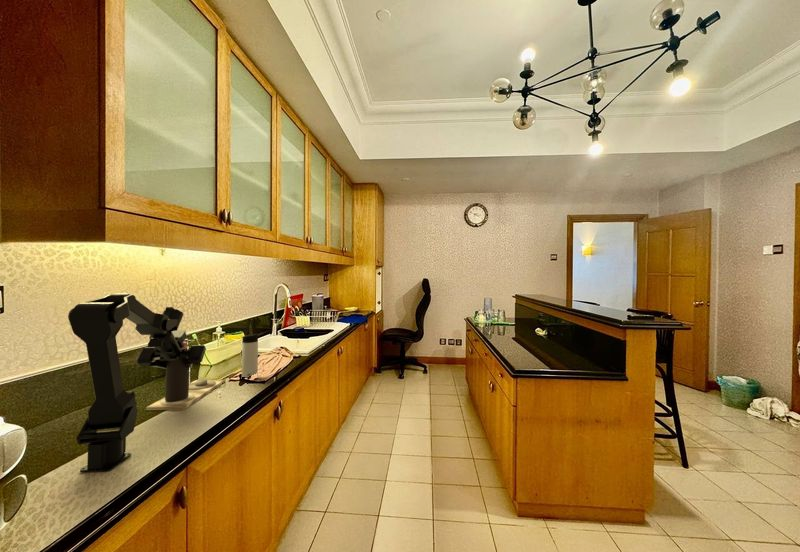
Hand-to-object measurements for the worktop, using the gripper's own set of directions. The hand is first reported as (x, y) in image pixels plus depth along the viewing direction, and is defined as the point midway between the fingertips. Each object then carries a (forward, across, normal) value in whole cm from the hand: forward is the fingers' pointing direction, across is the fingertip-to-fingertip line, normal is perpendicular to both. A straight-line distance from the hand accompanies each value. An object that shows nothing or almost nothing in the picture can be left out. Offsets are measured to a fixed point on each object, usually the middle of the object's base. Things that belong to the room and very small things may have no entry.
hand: (180, 367), depth 108 cm
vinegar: (+7, 0, +9) cm, 11 cm away
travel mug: (+22, -19, -5) cm, 30 cm away
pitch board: (+13, -1, +4) cm, 13 cm away
